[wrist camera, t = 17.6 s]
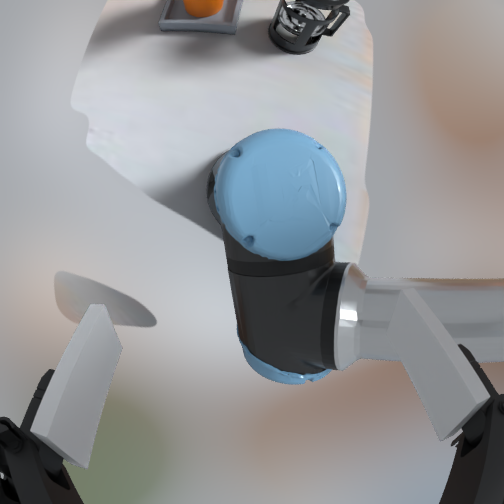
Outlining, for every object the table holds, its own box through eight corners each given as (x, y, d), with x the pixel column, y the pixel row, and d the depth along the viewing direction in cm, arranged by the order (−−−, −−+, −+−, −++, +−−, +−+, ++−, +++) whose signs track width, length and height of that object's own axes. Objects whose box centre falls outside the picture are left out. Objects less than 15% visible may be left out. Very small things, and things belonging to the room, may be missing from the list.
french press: (264, 51, 40) (296, -31, 17) (264, 14, 38) (290, -67, 15) (328, 59, 41) (390, -5, 19) (323, 22, 39) (374, -45, 17)
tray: (234, 34, 38) (235, 26, 35) (161, 31, 37) (158, 23, 34) (245, -12, 36) (247, -21, 33) (178, -16, 34) (177, -24, 31)
